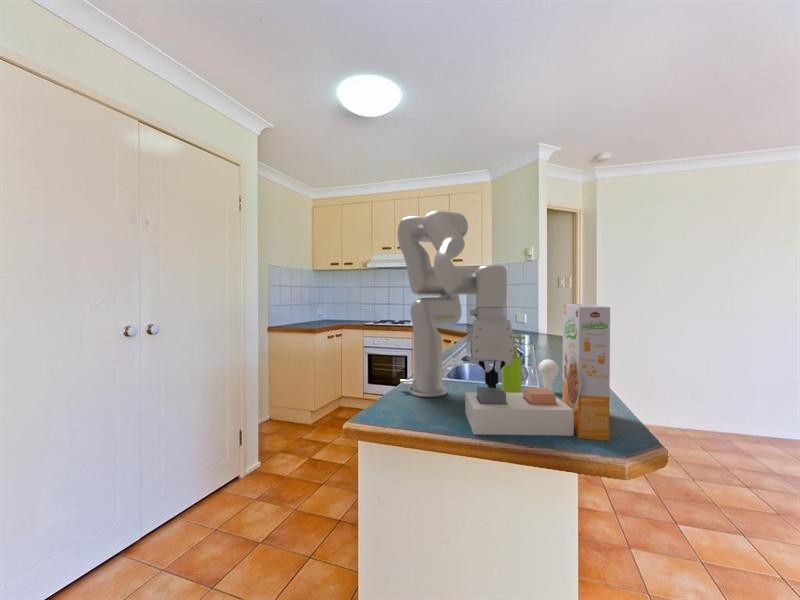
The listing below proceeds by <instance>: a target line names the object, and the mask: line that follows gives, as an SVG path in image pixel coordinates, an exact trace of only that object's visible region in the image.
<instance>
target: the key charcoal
mask: <svg viewBox="0 0 800 600" xmlns="http://www.w3.org/2000/svg"><path fill="white" fill-rule="evenodd" d="M476 392H477V400H478V402H479V403H480V404H501V405H506V393H505V392H504V391H503V390H502V387H500V386H499V387H498V386H496V388H493V387H492V388H489V387H488V386H487V387H485V386H484V387H483V386H477V387H476Z"/></svg>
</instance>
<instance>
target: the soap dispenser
mask: <svg viewBox="0 0 800 600" xmlns="http://www.w3.org/2000/svg"><path fill="white" fill-rule="evenodd" d="M515 339H521V340H522V339H523V340H525V339H526V337H525V336H522V335H515V334H514V335H513V344H514V357H513V363H512V364H508V365H504V366H503V367H502V368H501V389H502V390H503V391H504V392H505V393H523V392H522V386H523V385H522V383H523V382H522V381H523V380H522V377H523V376H522V372H523V371H522V369H523V367H522V361H523V359H522V357H520V356H518V346H516V345H515Z"/></svg>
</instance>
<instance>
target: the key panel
mask: <svg viewBox="0 0 800 600" xmlns="http://www.w3.org/2000/svg"><path fill="white" fill-rule="evenodd" d="M464 397H465V398H464V399H465V407H464V408H465V416H466V419H467V422H468V424H469V426H470V428H471V431H472V433H473V435H489V436H490V435H492V436H493V435H496V436H498V435H501V436H505V435H507V436H569V437H570V436H574V433H575V430H574V410H573V409H572V408H570V407H569V406H568V405H566V404H565V403H564V402H562V400H561V399H559V398H558V397H557V396H556V405H530V404H528V403H527V402H526V401H525V400H524V399H523V392H522V393H506V405H501V404H480V403H479V402H478V400H477V391H475V392H471V391H469V392H467V391H466V392H465V396H464Z"/></svg>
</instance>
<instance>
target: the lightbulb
mask: <svg viewBox="0 0 800 600" xmlns="http://www.w3.org/2000/svg"><path fill="white" fill-rule="evenodd" d="M559 369H560V368H559V365H558V364H557V363H556V361H554V360H552V359H548V358H547V359H542V361H540V363H538V372H539V373H540V375H541V378H542V383H543V388H548V389H549V390H551V391H552V392H553V390H554V388H553V387H554V384H555V383H554V381H555V379H556V377H557V375H558V373H559Z"/></svg>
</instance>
